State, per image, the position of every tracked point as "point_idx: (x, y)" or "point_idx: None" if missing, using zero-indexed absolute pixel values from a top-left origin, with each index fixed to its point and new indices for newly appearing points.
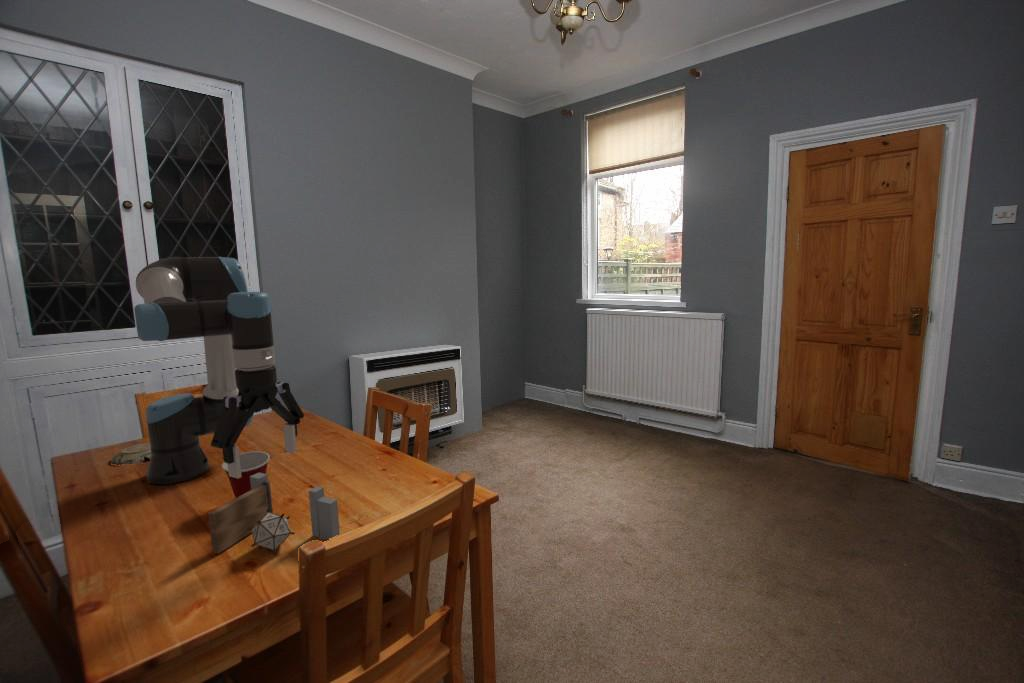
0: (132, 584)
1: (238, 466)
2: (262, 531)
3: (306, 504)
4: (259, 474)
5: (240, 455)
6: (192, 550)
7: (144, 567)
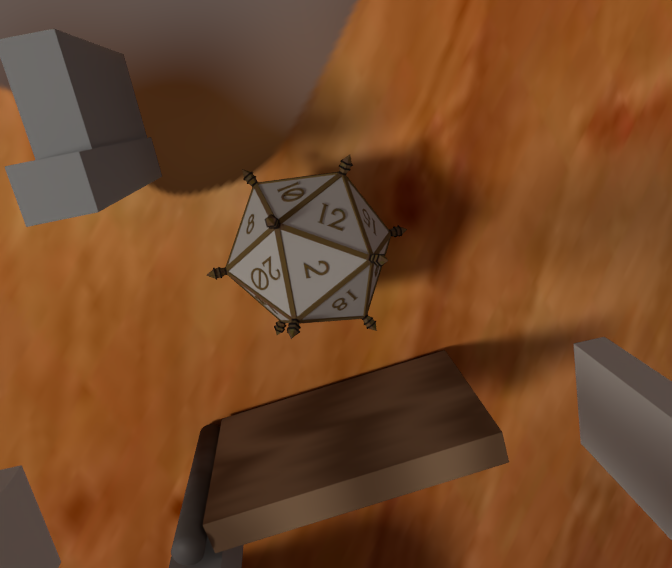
0: None
1: (657, 384)
2: (368, 227)
3: (49, 432)
4: None
5: None
6: None
7: (592, 462)
